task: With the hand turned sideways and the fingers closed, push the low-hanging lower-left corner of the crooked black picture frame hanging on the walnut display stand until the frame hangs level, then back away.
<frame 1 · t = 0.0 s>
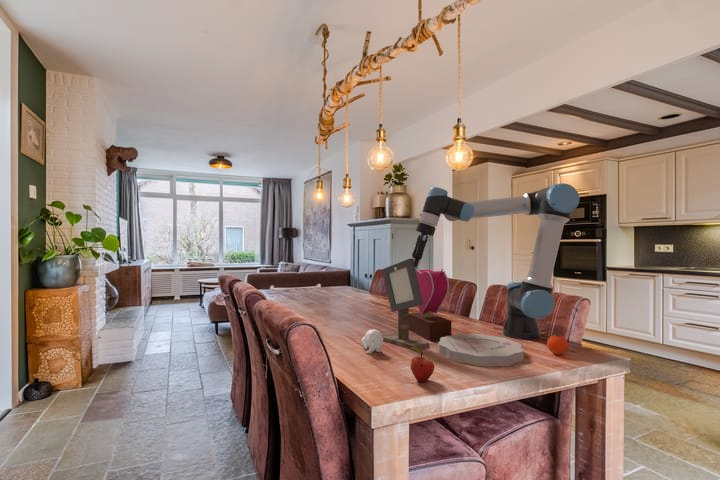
hand: (410, 273, 156), 28 cm above the table, tool tilted 20°, fingers open, 13 cm apart
clementine: (556, 354, 138), on the table
decorative plaque: (479, 354, 139), on the table
picture frame: (401, 285, 150), point 23 cm above the table, hinge at 17.9°, touching gripper
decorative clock: (430, 335, 166), on the table
white animal figurine: (370, 351, 142), on the table
apple: (421, 381, 111), on the table
display stand: (401, 342, 153), on the table
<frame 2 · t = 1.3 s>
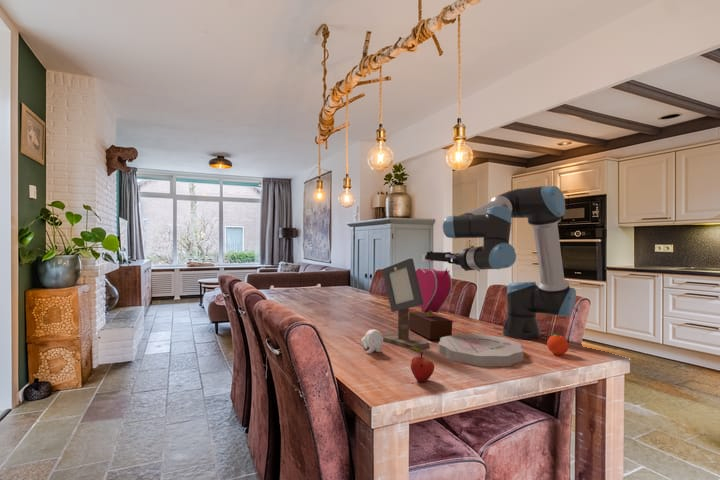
hand: (438, 262, 145), 33 cm above the table, tool horizontal, fingers open, 13 cm apart
picture frame: (401, 285, 150), point 23 cm above the table, hinge at 17.8°
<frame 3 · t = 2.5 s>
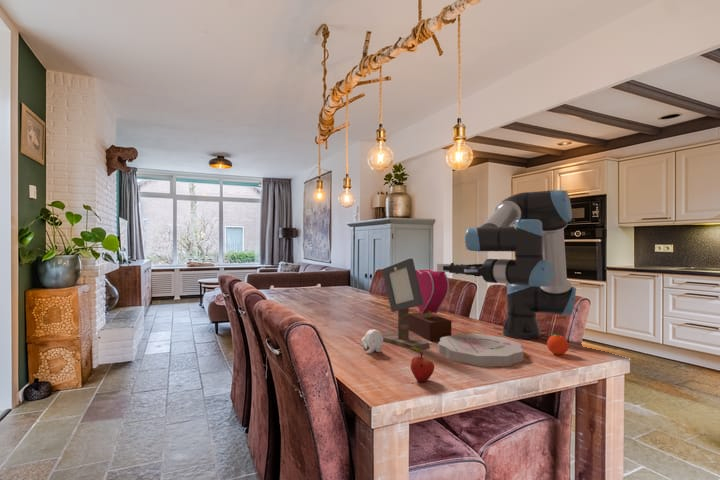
hand: (438, 267, 136), 32 cm above the table, tool horizontal, fingers closed
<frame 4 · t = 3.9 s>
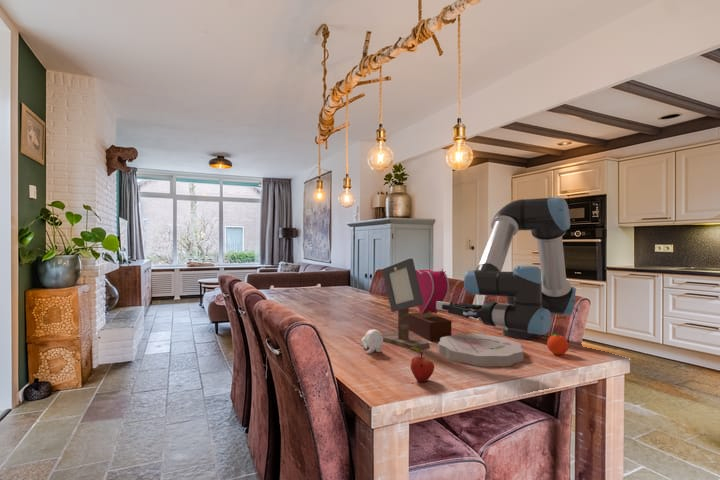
hand: (437, 305, 137), 18 cm above the table, tool horizontal, fingers closed
nothing on the table moved.
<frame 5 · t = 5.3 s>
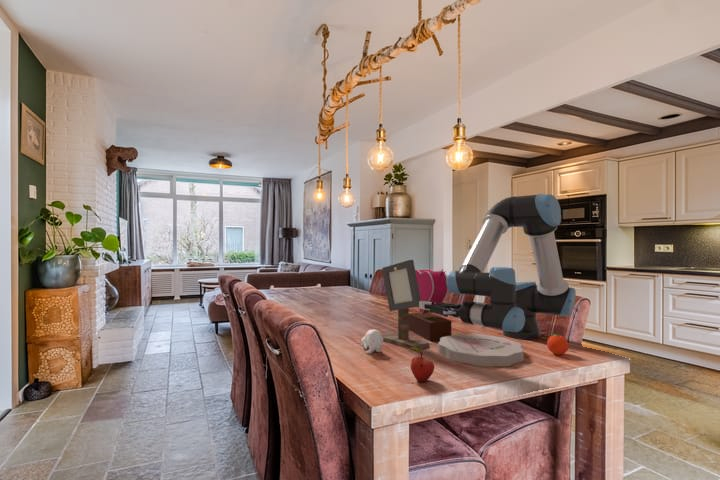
hand: (420, 304, 143), 17 cm above the table, tool horizontal, fingers closed
picture frame: (400, 286, 151), point 23 cm above the table, hinge at 14.0°, touching gripper
everything else where it was.
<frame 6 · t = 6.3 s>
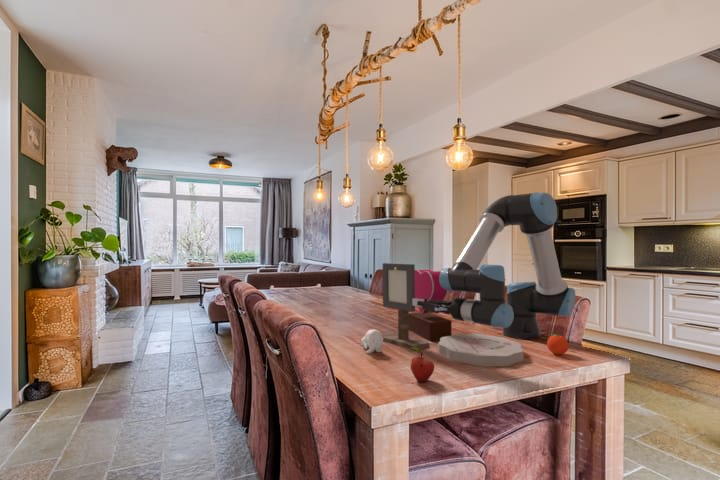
hand: (413, 301, 146), 18 cm above the table, tool horizontal, fingers closed
picture frame: (397, 286, 152), point 23 cm above the table, hinge at 0.6°, touching gripper
everything else where it was.
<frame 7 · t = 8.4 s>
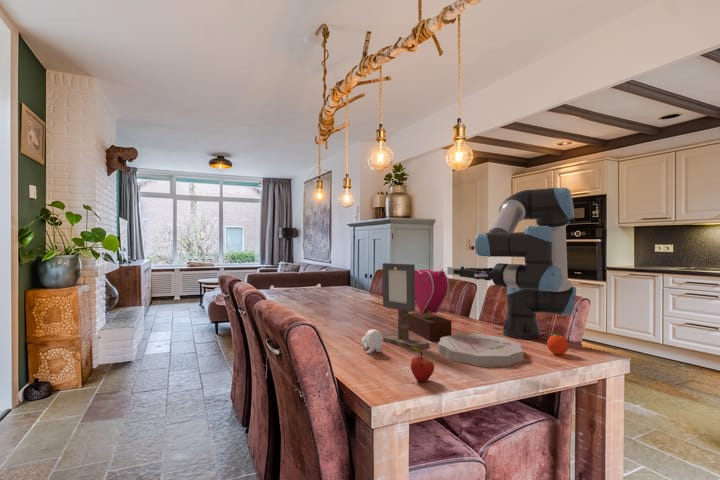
hand: (448, 270, 139), 30 cm above the table, tool horizontal, fingers closed
picture frame: (397, 286, 152), point 23 cm above the table, hinge at 0.5°
everything else where it was.
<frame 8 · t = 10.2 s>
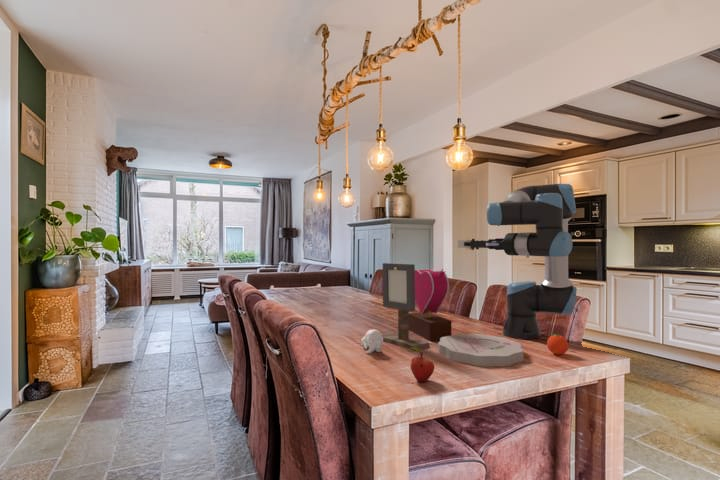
hand: (459, 244, 143), 40 cm above the table, tool horizontal, fingers closed
nothing on the table moved.
at the end: picture frame at +0° (first picture: +18°) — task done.
